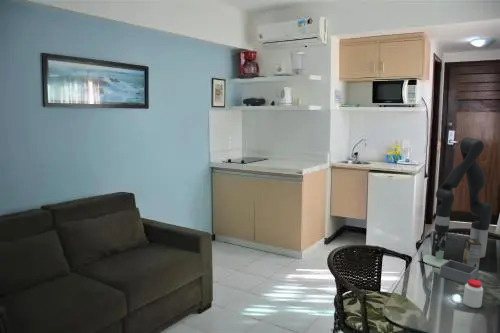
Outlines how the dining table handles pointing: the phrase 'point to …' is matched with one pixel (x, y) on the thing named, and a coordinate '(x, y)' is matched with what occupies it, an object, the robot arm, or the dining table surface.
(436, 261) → the snap lid
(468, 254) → the coffee box
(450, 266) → the parts tub
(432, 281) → the dining table surface
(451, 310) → the dining table surface
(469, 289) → the pill bottle
